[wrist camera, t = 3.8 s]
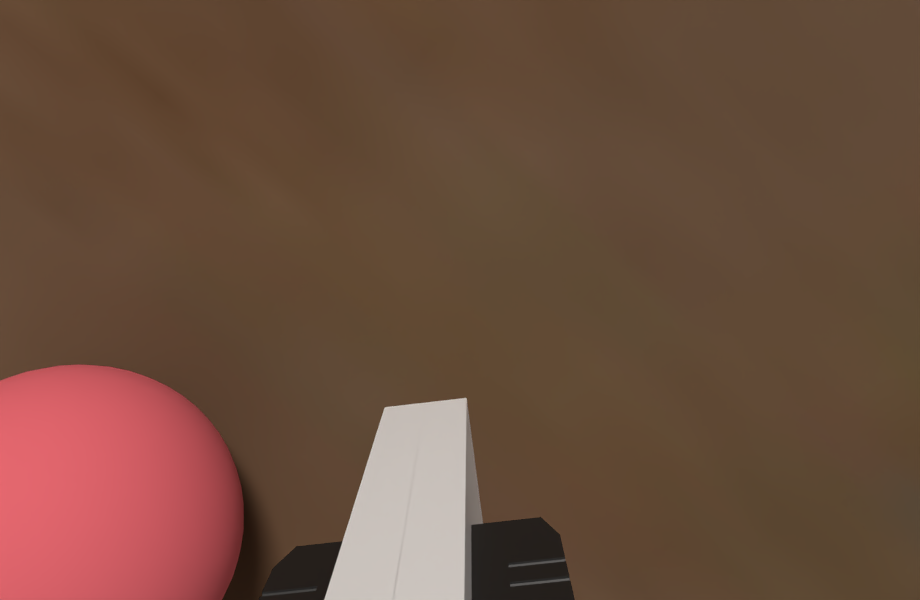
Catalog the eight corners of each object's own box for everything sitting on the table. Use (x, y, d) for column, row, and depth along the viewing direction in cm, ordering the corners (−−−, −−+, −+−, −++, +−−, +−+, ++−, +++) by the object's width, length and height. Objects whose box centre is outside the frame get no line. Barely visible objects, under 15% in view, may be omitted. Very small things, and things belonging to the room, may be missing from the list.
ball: (254, 314, 16) (111, 417, 10) (302, 569, 17) (201, 795, 11) (-16, 345, 16) (-303, 462, 10) (51, 592, 18) (-172, 821, 12)
